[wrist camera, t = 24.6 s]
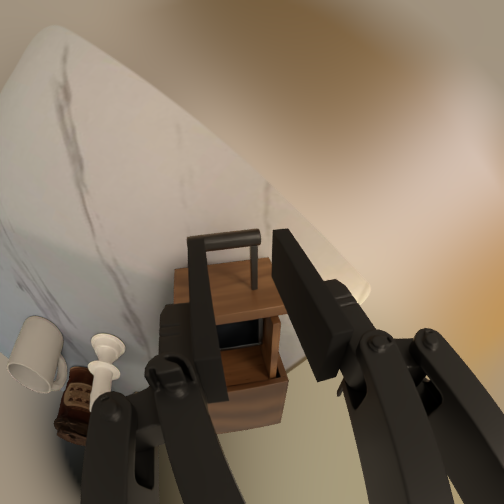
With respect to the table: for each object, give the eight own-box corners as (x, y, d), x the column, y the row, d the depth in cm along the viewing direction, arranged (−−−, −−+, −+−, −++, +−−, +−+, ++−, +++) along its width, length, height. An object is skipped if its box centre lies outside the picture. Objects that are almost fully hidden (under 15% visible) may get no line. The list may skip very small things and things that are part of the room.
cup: (41, 308, 28) (21, 358, 21) (84, 352, 34) (75, 400, 27) (17, 321, 29) (-1, 366, 21) (58, 360, 34) (47, 404, 27)
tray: (194, 297, 30) (196, 319, 27) (255, 288, 31) (263, 309, 28) (201, 332, 33) (204, 353, 30) (256, 324, 34) (262, 344, 31)
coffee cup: (65, 354, 34) (50, 424, 23) (111, 369, 37) (105, 440, 26) (65, 378, 37) (54, 439, 26) (105, 391, 40) (101, 453, 30)
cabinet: (187, 337, 36) (192, 396, 28) (269, 325, 38) (288, 380, 30) (202, 387, 44) (209, 435, 36) (266, 377, 46) (280, 423, 38)
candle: (131, 343, 35) (125, 418, 25) (117, 360, 36) (110, 428, 26) (98, 327, 32) (84, 403, 22) (86, 345, 33) (73, 415, 23)
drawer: (164, 216, 25) (157, 261, 19) (269, 204, 27) (296, 244, 21) (193, 347, 36) (198, 394, 30) (266, 336, 38) (281, 381, 31)
